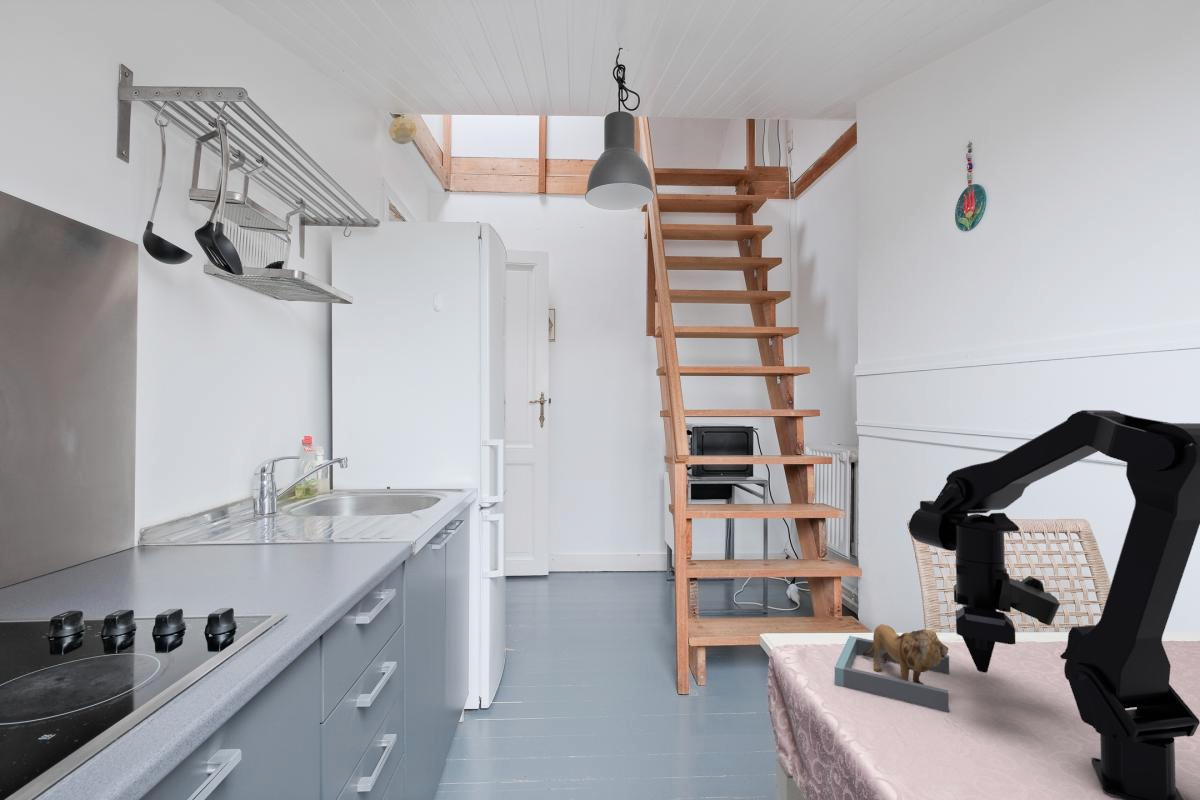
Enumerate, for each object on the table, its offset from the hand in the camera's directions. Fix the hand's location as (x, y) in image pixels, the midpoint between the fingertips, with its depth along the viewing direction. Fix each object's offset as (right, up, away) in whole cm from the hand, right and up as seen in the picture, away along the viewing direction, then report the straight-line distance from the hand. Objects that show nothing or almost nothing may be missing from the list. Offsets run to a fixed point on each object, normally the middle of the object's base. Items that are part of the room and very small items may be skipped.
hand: (982, 671), depth 78 cm
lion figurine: (-8, -4, +6) cm, 11 cm away
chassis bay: (-9, -4, +6) cm, 12 cm away
